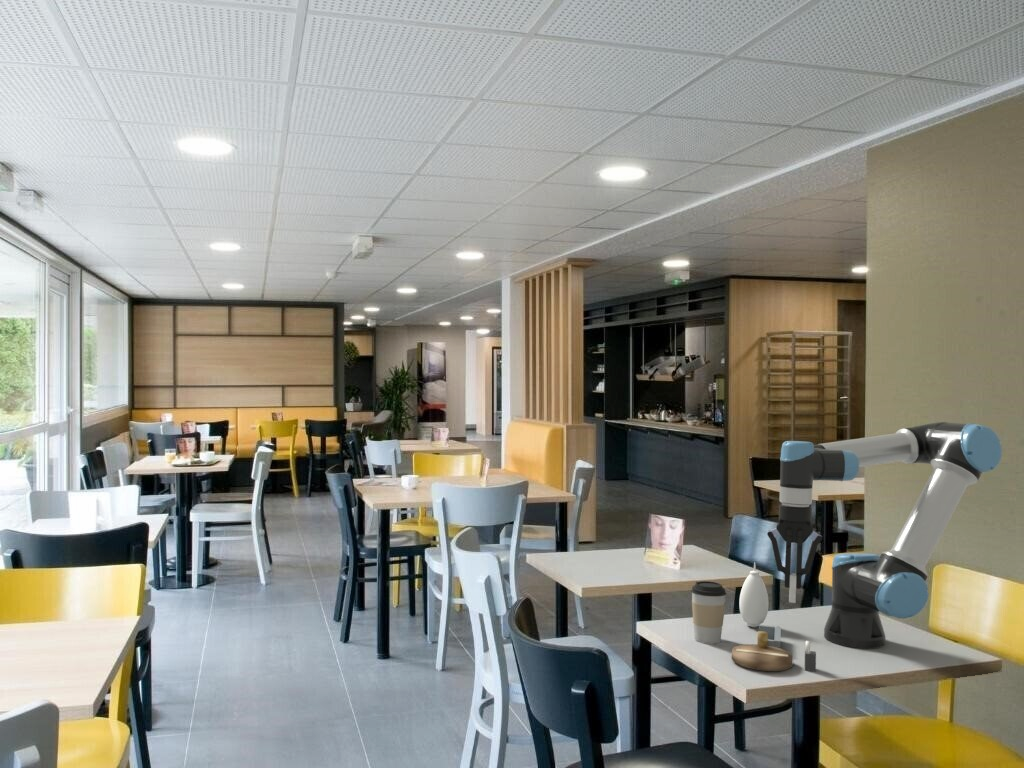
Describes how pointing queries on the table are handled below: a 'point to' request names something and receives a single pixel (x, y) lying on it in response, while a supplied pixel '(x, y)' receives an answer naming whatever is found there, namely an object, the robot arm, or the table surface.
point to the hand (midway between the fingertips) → (792, 601)
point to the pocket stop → (772, 635)
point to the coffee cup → (708, 611)
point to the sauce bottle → (753, 599)
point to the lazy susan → (762, 655)
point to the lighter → (810, 658)
